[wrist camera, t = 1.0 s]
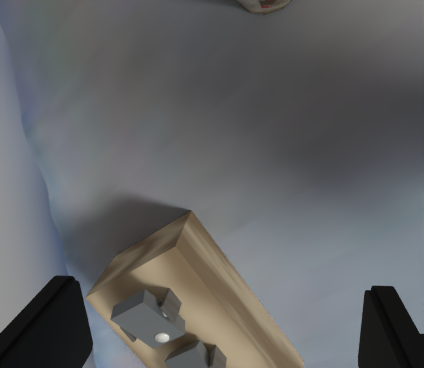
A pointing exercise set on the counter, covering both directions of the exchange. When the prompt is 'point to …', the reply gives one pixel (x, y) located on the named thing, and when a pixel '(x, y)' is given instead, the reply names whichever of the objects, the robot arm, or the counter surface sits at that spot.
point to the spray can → (263, 5)
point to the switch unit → (194, 300)
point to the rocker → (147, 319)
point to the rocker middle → (189, 357)
